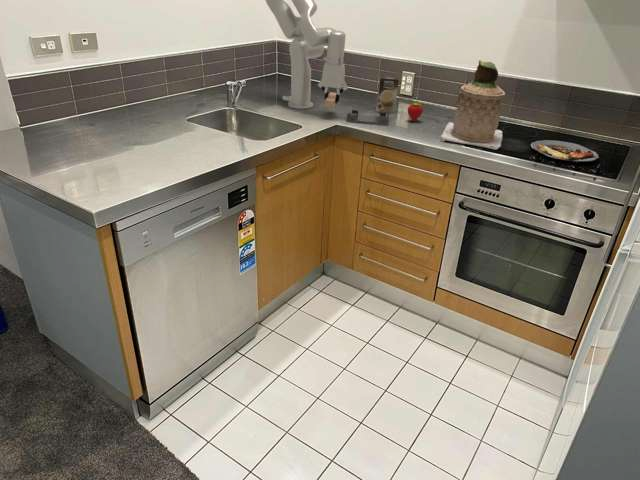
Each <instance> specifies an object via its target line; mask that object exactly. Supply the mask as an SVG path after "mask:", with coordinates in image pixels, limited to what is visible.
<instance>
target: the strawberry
mask: <svg viewBox="0 0 640 480" xmlns="http://www.w3.org/2000/svg"><path fill="white" fill-rule="evenodd" d="M423 112H424V108H423V106H422V103H418V99H416V102H414V103H411V104H410V105H409V106H408V107H407V114H408V116H409V118H410V119H411V120H412V122H416V121H417V120H418V119H419V118H420V117H421V115H422V113H423Z"/></svg>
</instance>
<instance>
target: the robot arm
mask: <svg viewBox="0 0 640 480" xmlns="http://www.w3.org/2000/svg"><path fill="white" fill-rule="evenodd" d="M290 1H291V2H292V3H293V5H294V7H295V9H296V10H297V12H298V15H300V16H296V14H295V13H294V11H293V9H292V8H291V6H290V5H289V4H288V3H287V2H286V1H285V0H265V3H266V5H267V6H268V9H270V11H271V13H272V14H273V15H274V17H275V19H276V22H277V24H278V25H279V27H280V29H281V31H282V34H283V35H284V36H285V37H286V39H289V40H292V41H290V44H289V48H288V49H289V55H290V65H291V69H290V70H291V71H290V73H291V74H290V78H291V79H290V80H291V81H290V82H291V83H290V95H288V96H287V95H283V96H282V101H285V102H286V101H287V106H288V107H289V108H292V109H297V110H299V109H300V110H307V109H311V108H313V107H314V103H313V102H312V101H311V89H312V86H311V85H312V84H311V83H312V67H311V64H310V62H309V59H315V58H320V57H321V56H322V55H323V54H324V50H325V47H327V49H326V56H323V61H325V63H324V65H323V68H322V73H321V75H322V76H321V79H320V80H319V82H318V83H317V86H318V87H319V88H320V89H321V90H322V91H323V92H324V101H325V100H326V98H327V97H328V95H329V93H330V92H329V88H332V89H336V93H337V94H336V102H335V103H336V104H338V102H340V94H342V93H344V92H345V91H346V90H348V89H349V86H348V85H347V83H346V81H345V79H346V69H345V68H346V67H345V64H344V59H345V58H344V57H345V49H346V48H345V47H346V33H345V32H344V31H341V30H336V29H334V28H332V27H318V28H317V27H316V26H315V24H314V22H313V21H312V20H311V17H312V16H314V15H315V14H316V12H317V10H318V5H317V3H316V1H315V0H290Z"/></svg>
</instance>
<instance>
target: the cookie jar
mask: <svg viewBox="0 0 640 480" xmlns="http://www.w3.org/2000/svg"><path fill="white" fill-rule="evenodd" d="M498 77H499V72H498V69H497V67H496V64H494V63H493V62H492V61H482V60H481V59H479V60H478V65H477V67H476V70H475V71H474V78H473V80H471V81H470V82H469V83H468V84H464V85H462V86H461V87H460V88H459V89H460V90H459V91H460V92H459V93H458V98H457V100H456V104H457V107H456V108H455V109H456V110H455V113H454V117H453V122H452V121H451V122H450V121H449V122H448V123H447V124H446V126H445V129H444V130H443V132H442V134H441V135H440V137H441V141H442V143H445V141H447V142H452V143H458V144H464V145H470V146H476V147H481V148H485V149H486V148H487V149H490V150H491V149H492V150H495V151H496V150H498V149H499V148H501V147H502V141H503V131H502V130H500V129H497V128H498V127H499V124H500V123H499V121H500V116H501V106H502V101H503V100H504V98H505V97H506V92H505V90H503V89H502V88H501V86H498V85H497V84H496V82H497V80H498Z"/></svg>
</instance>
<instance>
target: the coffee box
mask: <svg viewBox="0 0 640 480" xmlns="http://www.w3.org/2000/svg"><path fill="white" fill-rule="evenodd" d="M378 80H379V83H378V89H377V91H378V92H377V99H376V107H375V111H376V113H377V112H378V113H380V112H386V113H391V114H393V113H394V114H395V112H396V103H397V95H398V88H399V82H400V78H399V77H398V76H389V75H388V76H387V75H380V76H379V79H378Z"/></svg>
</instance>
